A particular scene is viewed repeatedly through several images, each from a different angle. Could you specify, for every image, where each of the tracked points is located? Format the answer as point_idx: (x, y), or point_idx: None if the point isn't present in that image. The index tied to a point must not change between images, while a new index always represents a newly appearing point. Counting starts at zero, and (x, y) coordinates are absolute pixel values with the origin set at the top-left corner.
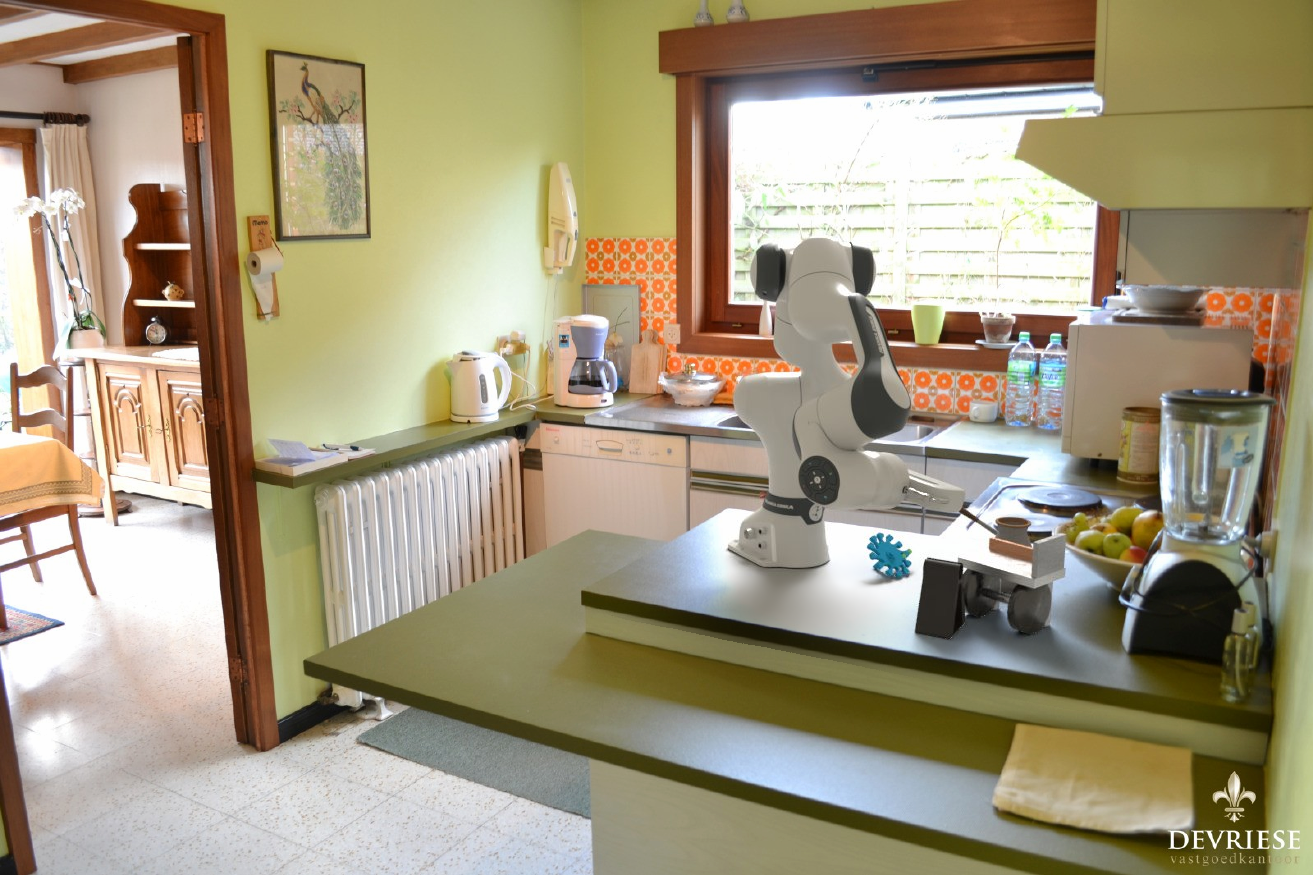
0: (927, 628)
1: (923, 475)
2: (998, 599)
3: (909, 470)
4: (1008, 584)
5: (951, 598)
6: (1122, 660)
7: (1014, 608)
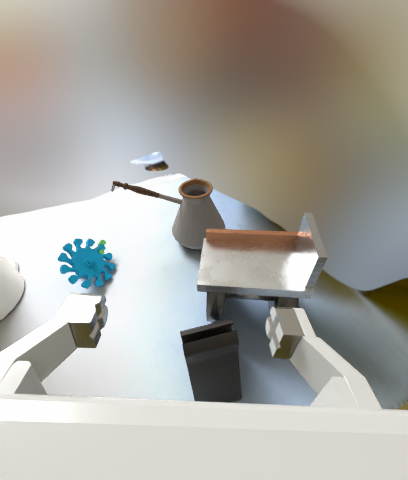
0: None
1: (290, 463)
2: (245, 298)
3: (185, 460)
4: None
5: (233, 367)
6: (375, 311)
7: None
